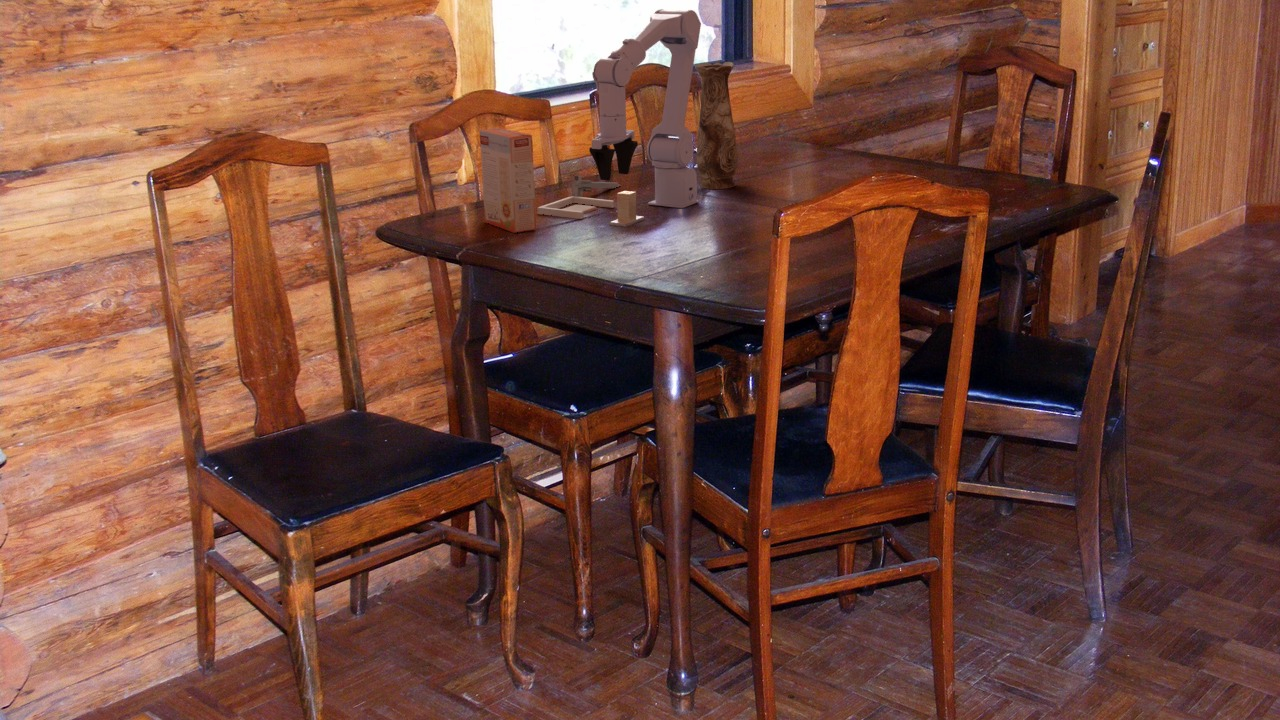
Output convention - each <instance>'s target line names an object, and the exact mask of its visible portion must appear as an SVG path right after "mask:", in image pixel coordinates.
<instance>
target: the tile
mask: <svg viewBox="0 0 1280 720" xmlns="http://www.w3.org/2000/svg"><path fill="white" fill-rule="evenodd" d="M597 207H598V206H591V205H582V204H572V205H569V206H567V207H565V208H564V207H563V209H565V210H574V211H582V212H583V215H585V214H588V213H591V212H593V211H597V210H598V208H597Z"/></svg>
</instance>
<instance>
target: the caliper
mask: <svg viewBox="0 0 1280 720" xmlns="http://www.w3.org/2000/svg"><path fill="white" fill-rule="evenodd" d="M619 186H621V187H622V185H621V184H619V182H614V181H613V182H610V181H609V182H608V181H607V182H603V181H593V180H589V179H585V180H584V179H582V175H574V177H573V180H572V185H571V196H576V197H583V194H584V192H592V189H614V188H615V189H617V188H616V187H618V188H619Z"/></svg>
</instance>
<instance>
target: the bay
mask: <svg viewBox="0 0 1280 720" xmlns="http://www.w3.org/2000/svg"><path fill="white" fill-rule="evenodd" d="M572 203H578V204H577V205H582V204H585V205H586V206H591V205H593V206H594V207H600V208H601V207H603V208H612V209H613V208H615V200H612V199H602V198H593V197H584V196H582V197H576V196H572V195H571V196H568V197H565V198H562V199H559V200H556V201H554V202H553V201H552V202H550V203H547V204H544V205H540V206H539V207H537V208H536V209H537V214H538V215H543V214H544V215H545V216H551V215H552V217H553V216H554V217H559V218H560V217H562V218H569V219H580V220H582V219H584V218H585V216H584V214H583V212H582V211H574V210H565V209H564V207H566V205H567V206H570V205H573V204H572ZM569 204H570V205H569ZM544 215H543V216H544Z"/></svg>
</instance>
